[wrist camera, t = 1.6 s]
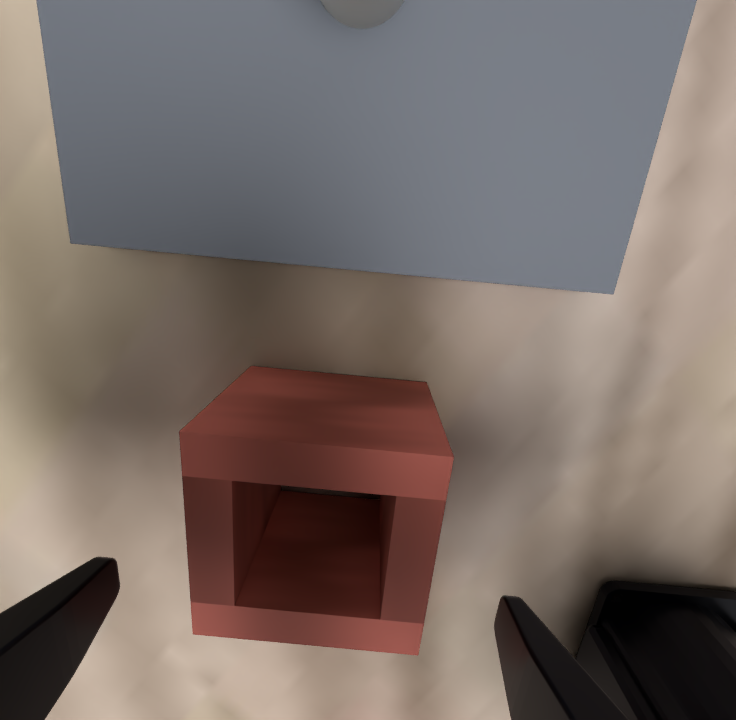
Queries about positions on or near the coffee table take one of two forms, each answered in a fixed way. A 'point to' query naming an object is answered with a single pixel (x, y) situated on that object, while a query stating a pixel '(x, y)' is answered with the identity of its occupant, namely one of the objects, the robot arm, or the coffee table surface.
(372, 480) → the red square tube
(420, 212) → the flat gray board
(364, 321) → the coffee table surface
